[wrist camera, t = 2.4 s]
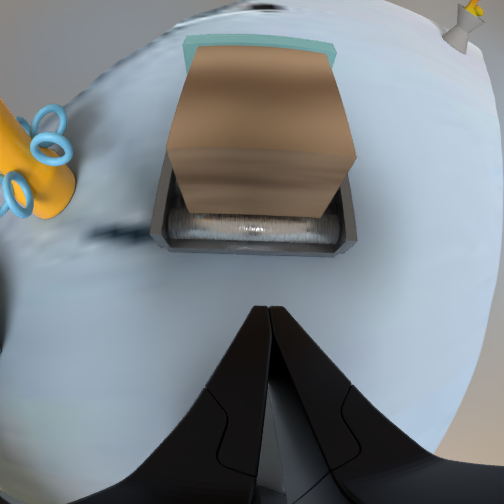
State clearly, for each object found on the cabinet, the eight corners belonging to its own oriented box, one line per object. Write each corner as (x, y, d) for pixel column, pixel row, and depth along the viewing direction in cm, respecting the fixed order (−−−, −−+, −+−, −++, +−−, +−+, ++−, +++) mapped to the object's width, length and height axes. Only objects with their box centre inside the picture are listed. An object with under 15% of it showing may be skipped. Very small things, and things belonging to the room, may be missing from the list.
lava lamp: (442, 40, 43) (480, -40, 9) (440, 33, 45) (474, -40, 12) (468, 58, 42) (509, -18, 9) (463, 49, 44) (500, -21, 11)
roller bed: (339, 257, 21) (357, 241, 18) (163, 251, 21) (149, 233, 17) (319, 109, 27) (327, 84, 23) (191, 103, 26) (187, 77, 23)
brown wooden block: (320, 218, 19) (356, 157, 12) (189, 212, 18) (165, 148, 12) (308, 116, 22) (325, 53, 15) (205, 111, 21) (197, 46, 15)
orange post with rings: (66, 138, 25) (10, 48, 11) (118, 164, 24) (54, 41, 9) (6, 221, 21) (-77, 155, 7) (47, 268, 20) (-72, 196, 6)
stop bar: (319, 109, 27) (336, 52, 19) (191, 103, 26) (182, 44, 19) (316, 98, 27) (332, 43, 20) (194, 92, 27) (186, 35, 19)
